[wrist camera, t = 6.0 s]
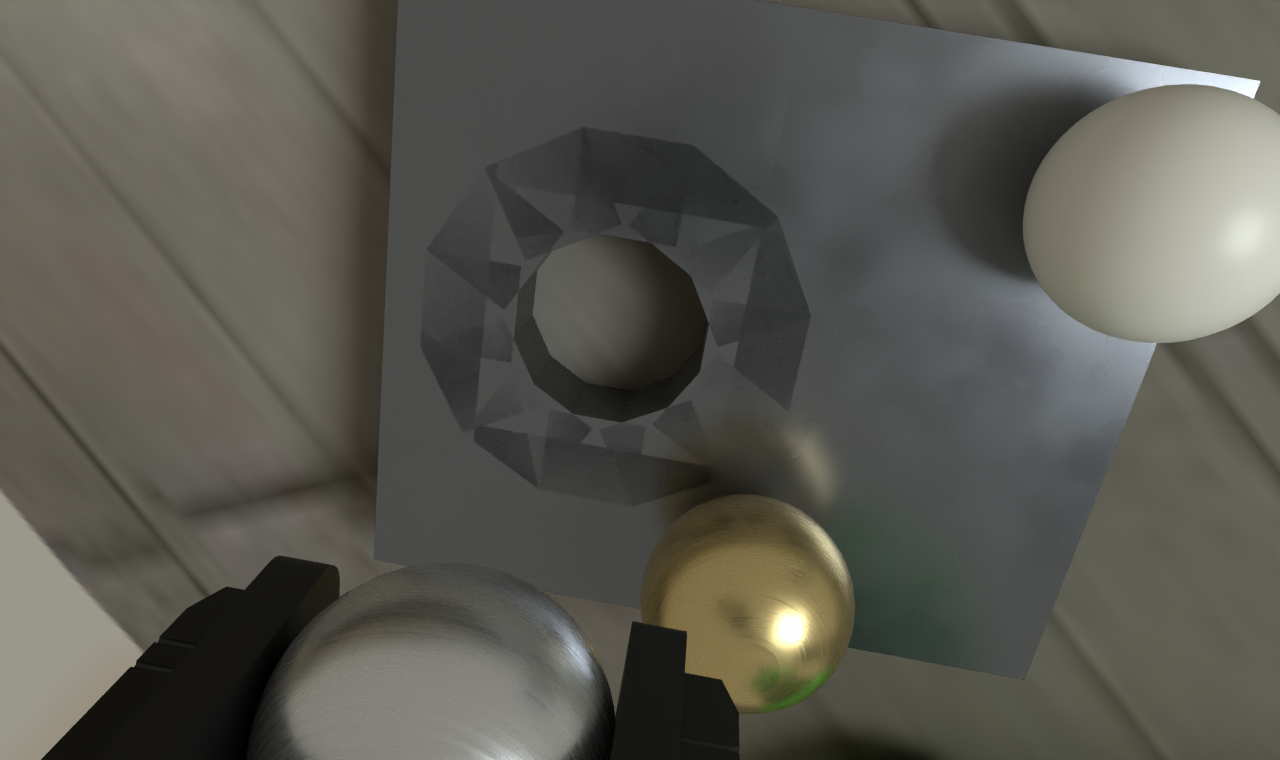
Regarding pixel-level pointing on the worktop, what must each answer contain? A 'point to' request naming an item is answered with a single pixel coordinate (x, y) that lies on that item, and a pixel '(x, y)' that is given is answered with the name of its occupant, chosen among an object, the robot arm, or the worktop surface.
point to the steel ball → (437, 675)
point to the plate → (749, 302)
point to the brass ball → (752, 598)
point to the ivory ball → (1160, 214)
